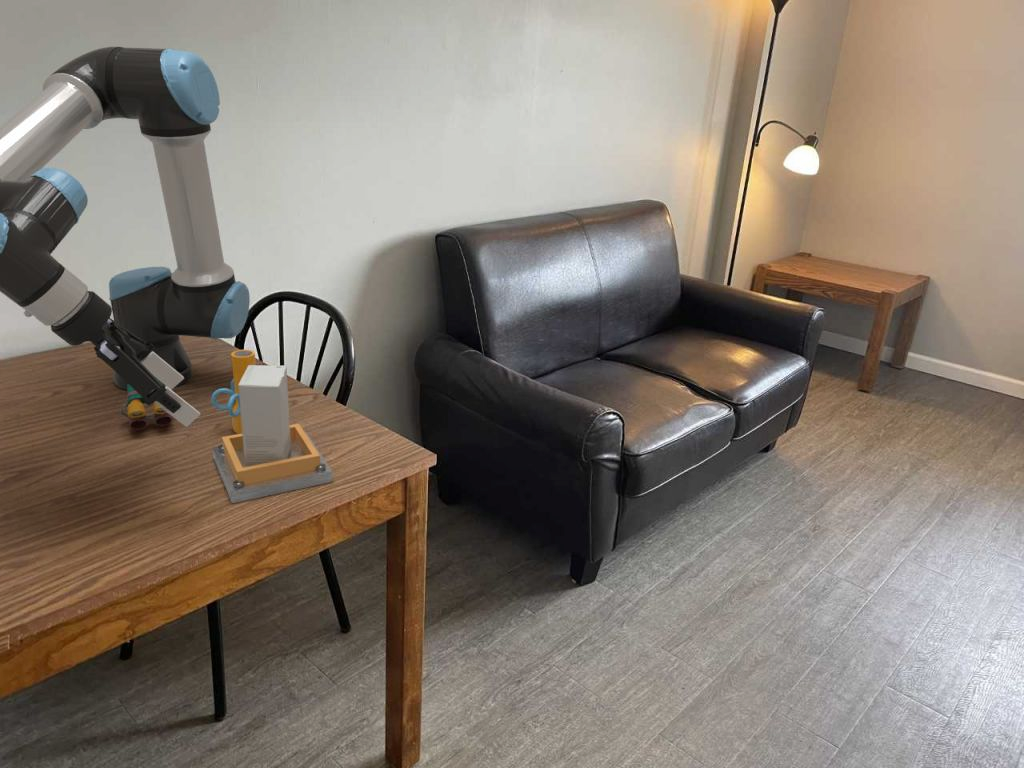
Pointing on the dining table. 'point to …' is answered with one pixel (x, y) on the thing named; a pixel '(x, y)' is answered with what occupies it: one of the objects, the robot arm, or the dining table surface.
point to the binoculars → (143, 411)
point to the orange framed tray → (272, 486)
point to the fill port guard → (272, 468)
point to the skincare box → (264, 414)
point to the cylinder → (235, 386)
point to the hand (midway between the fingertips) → (185, 400)
